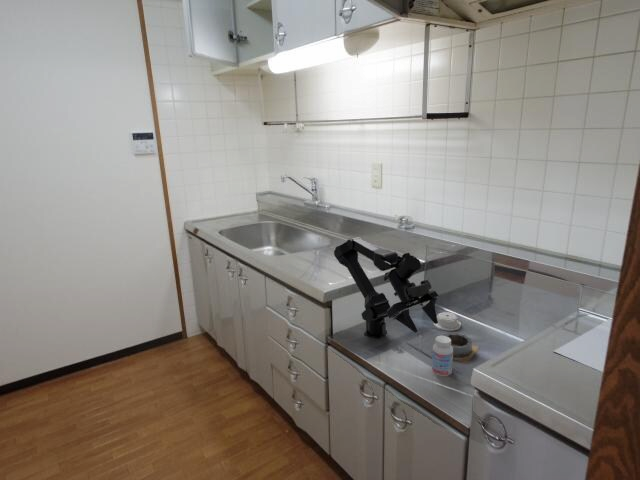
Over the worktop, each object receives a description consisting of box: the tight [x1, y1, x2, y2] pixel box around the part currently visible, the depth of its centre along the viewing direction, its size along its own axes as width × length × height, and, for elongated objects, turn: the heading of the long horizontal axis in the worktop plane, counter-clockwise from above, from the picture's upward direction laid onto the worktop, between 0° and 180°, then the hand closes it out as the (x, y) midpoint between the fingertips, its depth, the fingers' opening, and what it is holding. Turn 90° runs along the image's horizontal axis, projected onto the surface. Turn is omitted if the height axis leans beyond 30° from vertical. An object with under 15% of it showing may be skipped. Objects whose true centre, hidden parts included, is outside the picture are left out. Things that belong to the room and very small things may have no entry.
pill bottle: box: [431, 335, 454, 377], centre depth 124 cm, size 6×6×11 cm
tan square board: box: [431, 344, 480, 364], centre depth 136 cm, size 12×12×1 cm
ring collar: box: [442, 332, 473, 358], centre depth 135 cm, size 10×10×4 cm
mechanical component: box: [433, 311, 462, 332], centre depth 153 cm, size 10×4×10 cm
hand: (426, 327), depth 127 cm, fingers open, 9 cm apart
